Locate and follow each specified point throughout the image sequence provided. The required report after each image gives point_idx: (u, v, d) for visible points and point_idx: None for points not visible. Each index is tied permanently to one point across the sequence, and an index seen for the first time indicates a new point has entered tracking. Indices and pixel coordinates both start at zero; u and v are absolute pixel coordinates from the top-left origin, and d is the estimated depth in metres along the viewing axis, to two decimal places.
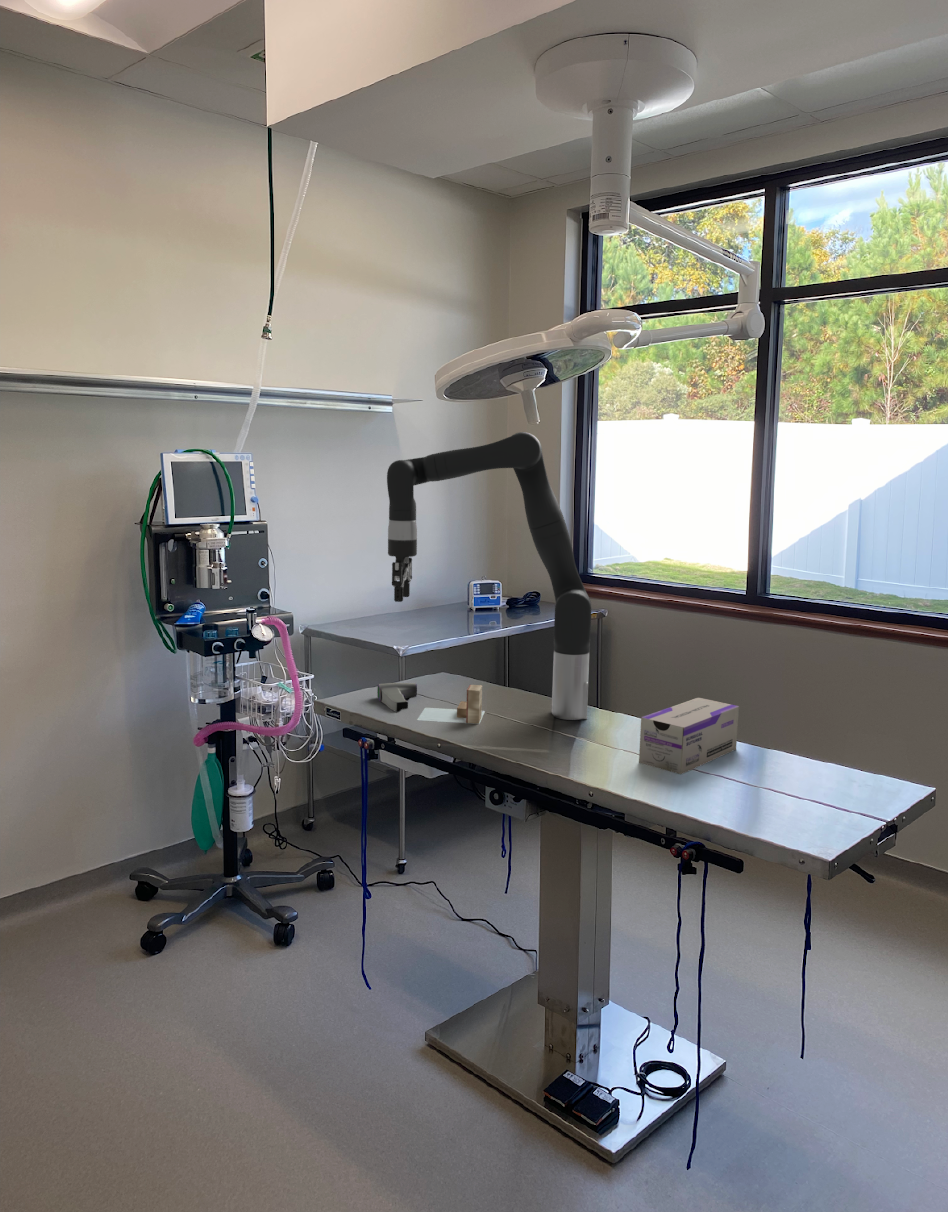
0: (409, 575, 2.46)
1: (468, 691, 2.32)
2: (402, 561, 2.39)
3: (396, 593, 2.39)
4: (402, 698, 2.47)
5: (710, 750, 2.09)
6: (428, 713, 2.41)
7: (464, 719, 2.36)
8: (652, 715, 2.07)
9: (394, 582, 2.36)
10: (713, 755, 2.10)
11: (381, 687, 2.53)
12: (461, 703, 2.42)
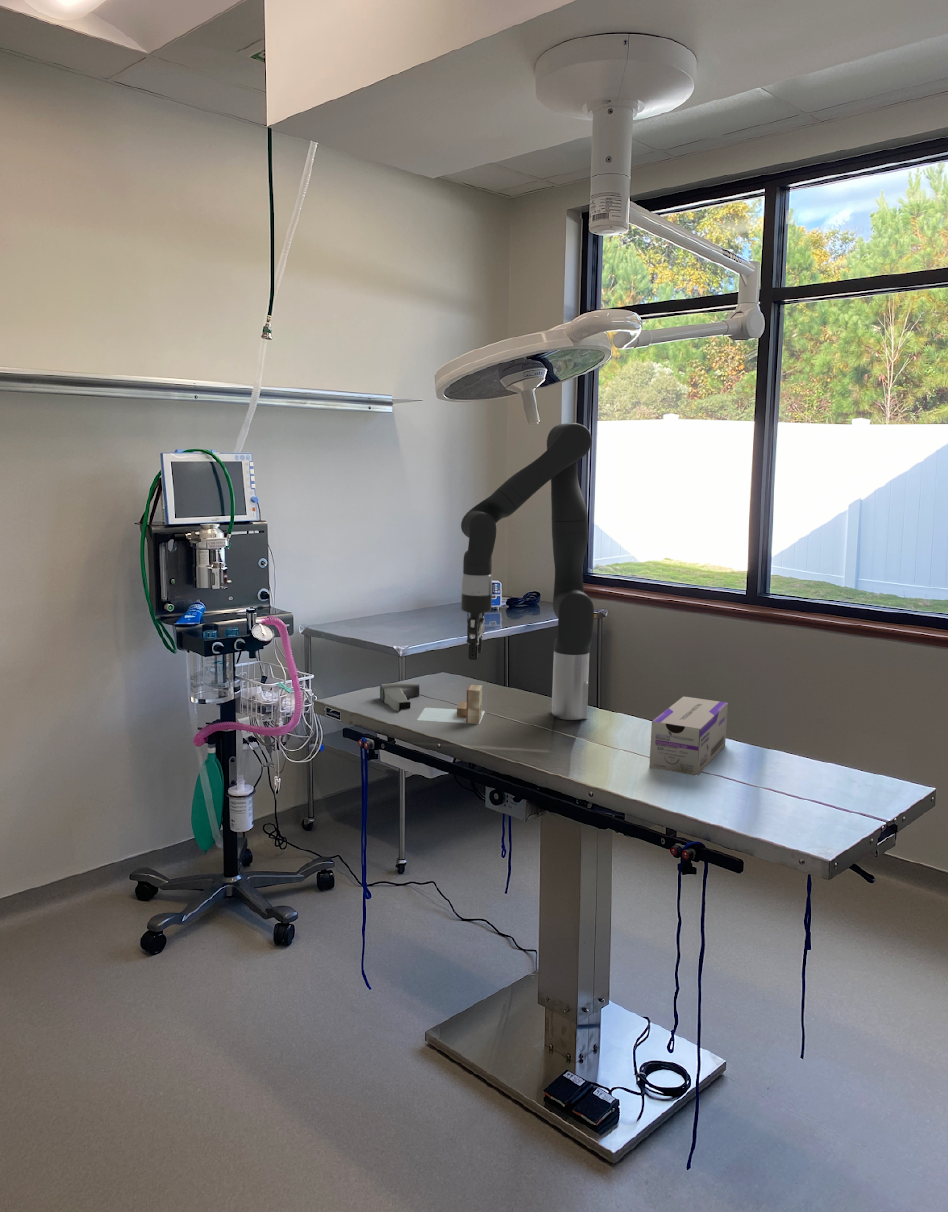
0: (482, 630, 2.34)
1: (468, 691, 2.32)
2: (477, 617, 2.27)
3: (471, 651, 2.27)
4: (404, 698, 2.47)
5: (712, 748, 2.10)
6: (428, 713, 2.41)
7: (464, 719, 2.36)
8: (660, 718, 2.05)
9: (469, 640, 2.25)
10: (714, 754, 2.12)
11: (383, 687, 2.53)
12: (461, 703, 2.42)
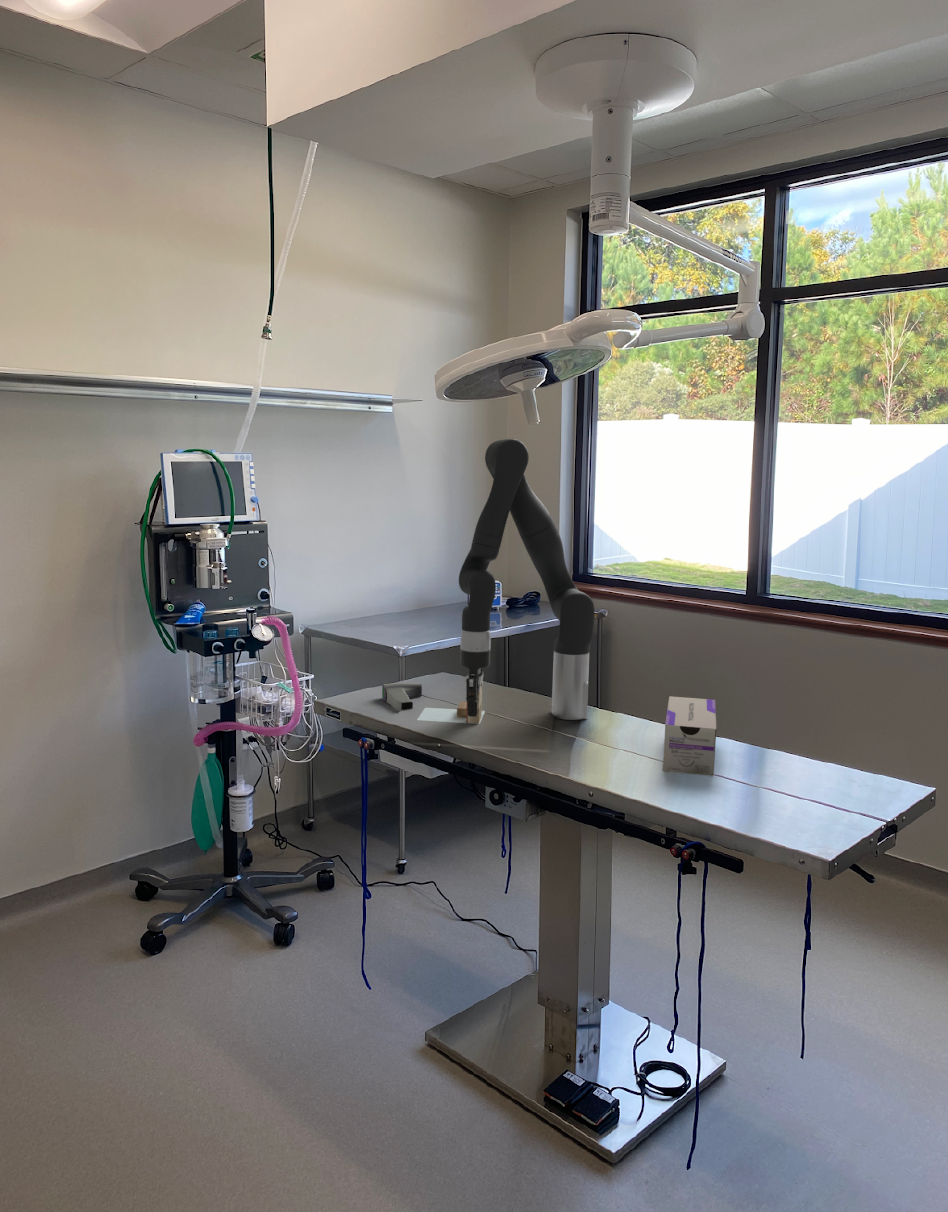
0: (480, 686, 2.36)
1: None
2: (476, 674, 2.29)
3: (470, 708, 2.31)
4: (407, 698, 2.47)
5: None
6: (428, 713, 2.41)
7: (464, 719, 2.36)
8: (670, 721, 2.03)
9: (469, 698, 2.29)
10: None
11: (386, 687, 2.53)
12: (461, 703, 2.42)
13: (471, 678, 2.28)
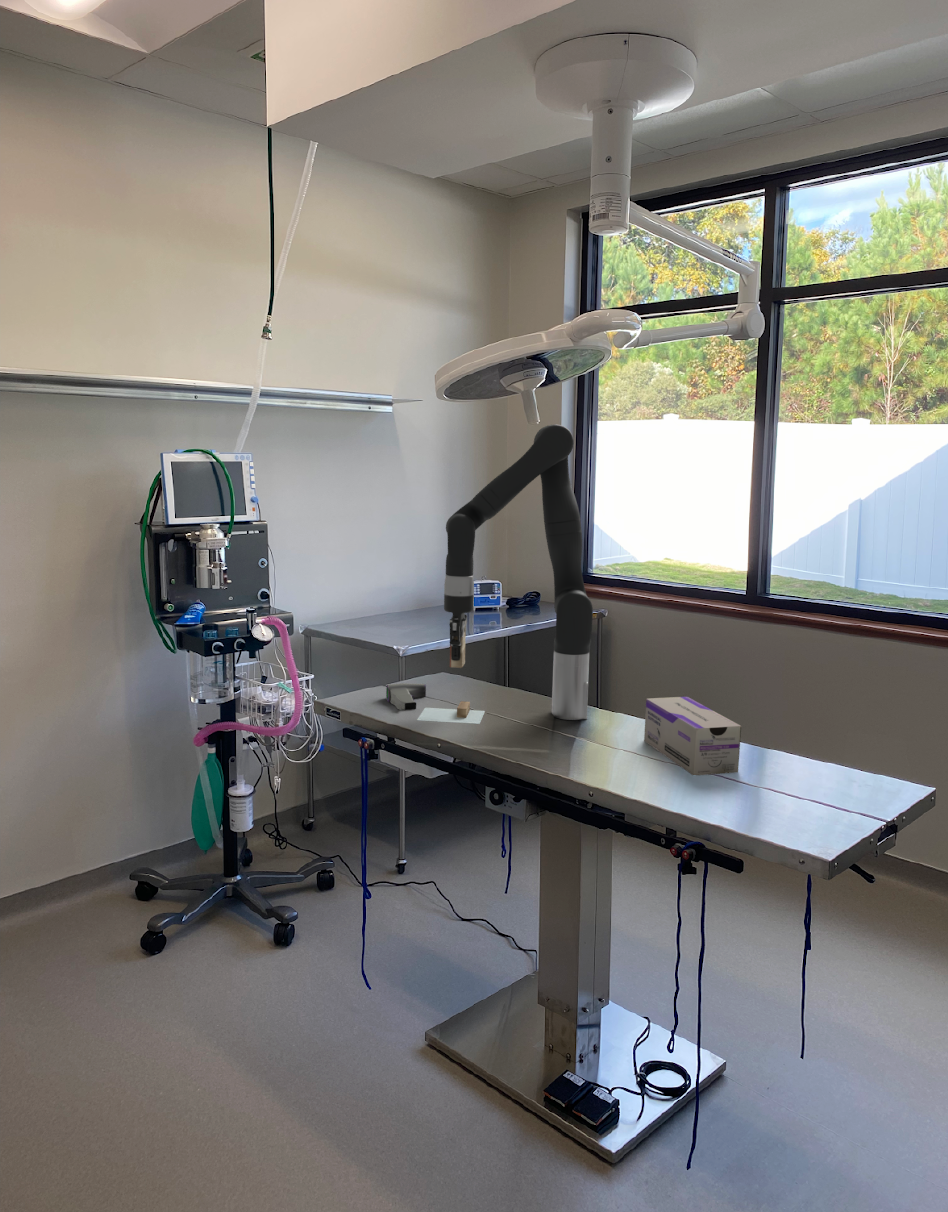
0: None
1: None
2: (459, 618, 2.33)
3: (454, 652, 2.34)
4: (410, 699, 2.47)
5: None
6: (428, 713, 2.41)
7: (464, 719, 2.36)
8: (693, 724, 2.01)
9: (452, 642, 2.32)
10: None
11: (390, 688, 2.53)
12: (461, 703, 2.42)
13: (454, 622, 2.31)
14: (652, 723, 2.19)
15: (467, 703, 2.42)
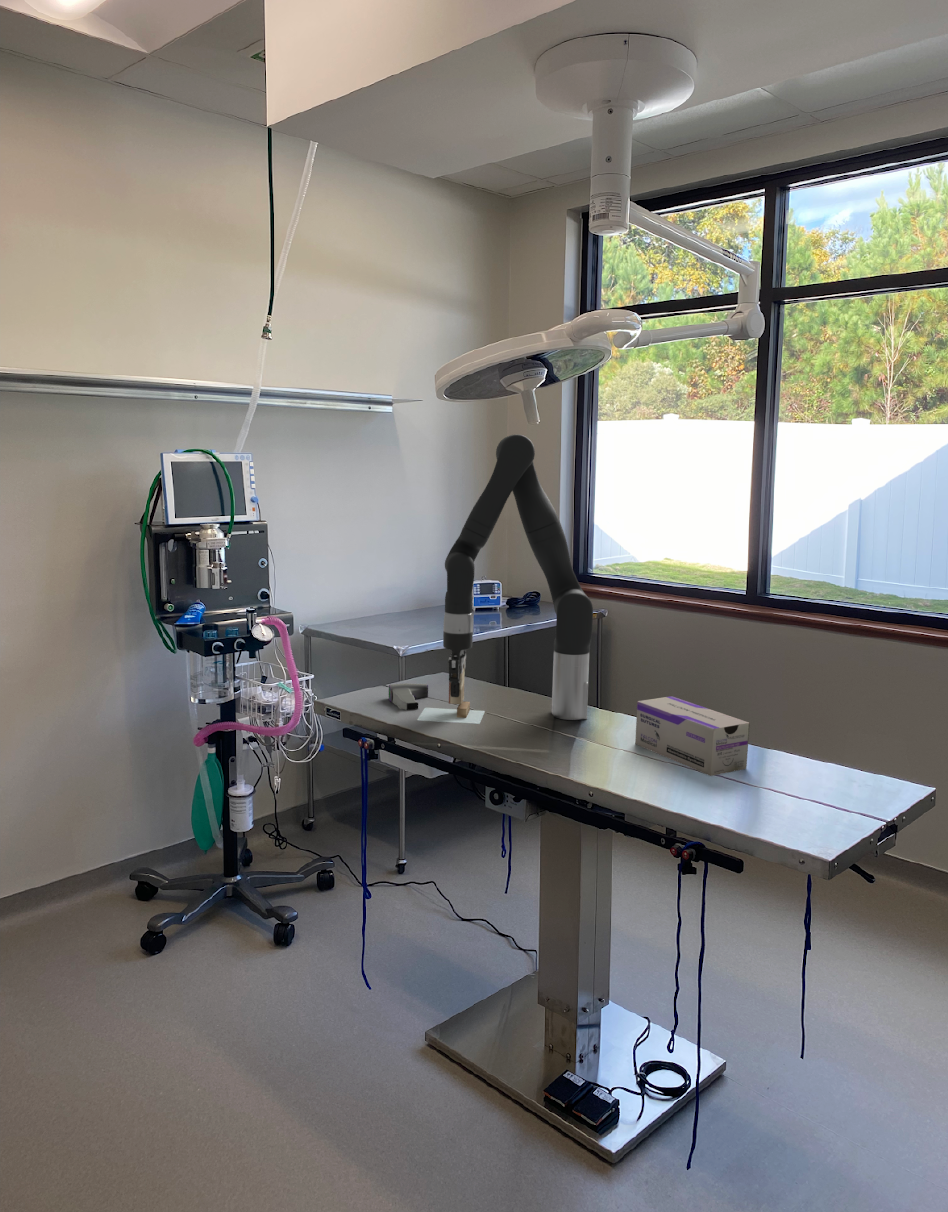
0: None
1: None
2: (458, 655, 2.35)
3: (453, 689, 2.36)
4: (412, 699, 2.46)
5: None
6: (428, 713, 2.41)
7: (464, 719, 2.36)
8: (706, 724, 2.01)
9: (451, 679, 2.34)
10: None
11: (392, 688, 2.53)
12: (461, 703, 2.42)
13: (453, 659, 2.33)
14: (647, 725, 2.16)
15: (467, 703, 2.42)
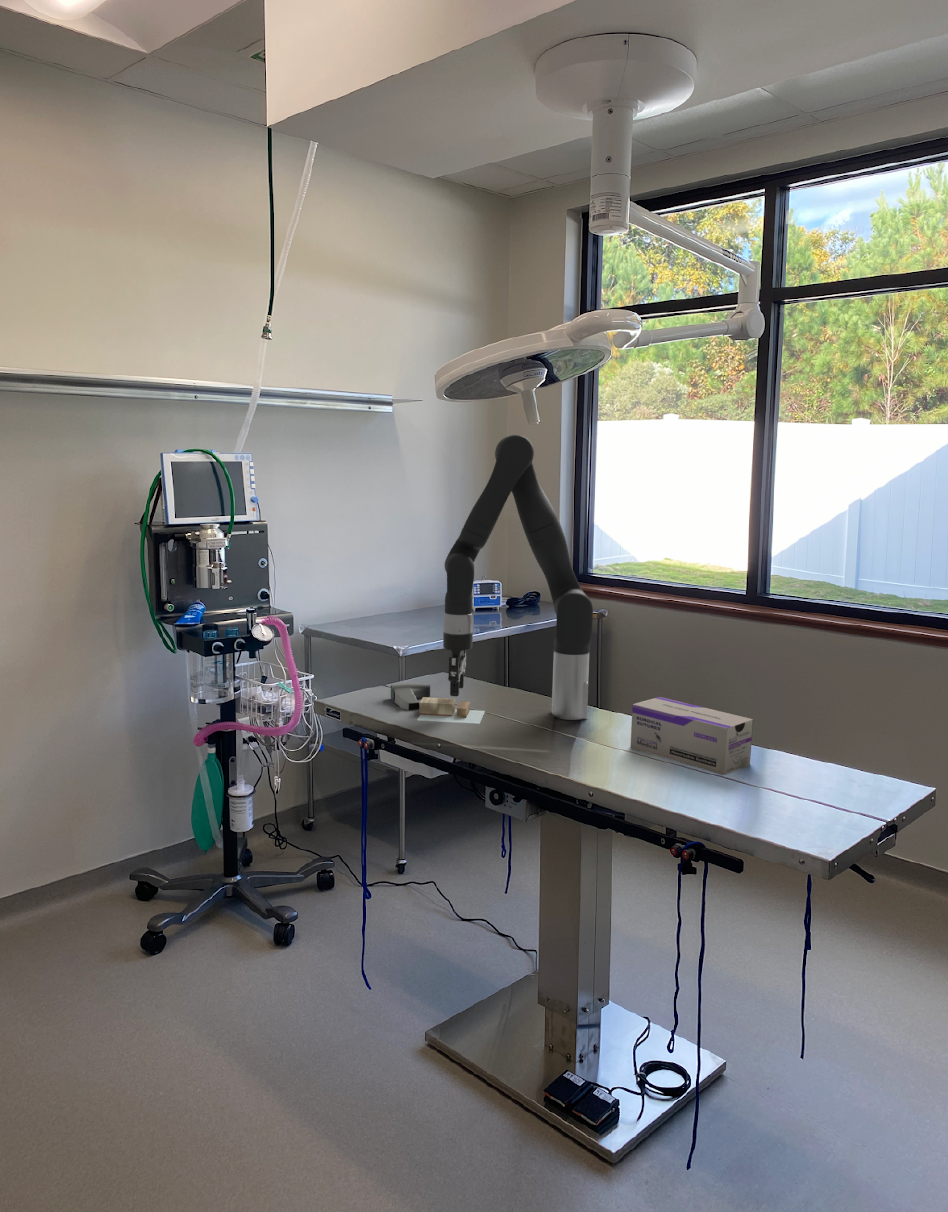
0: (464, 667, 2.42)
1: (420, 713, 2.39)
2: (458, 655, 2.35)
3: (452, 688, 2.35)
4: (414, 699, 2.46)
5: None
6: None
7: (464, 719, 2.36)
8: (716, 724, 2.01)
9: (451, 677, 2.32)
10: None
11: (394, 688, 2.53)
12: (461, 703, 2.42)
13: (454, 657, 2.33)
14: (646, 728, 2.14)
15: (467, 703, 2.42)
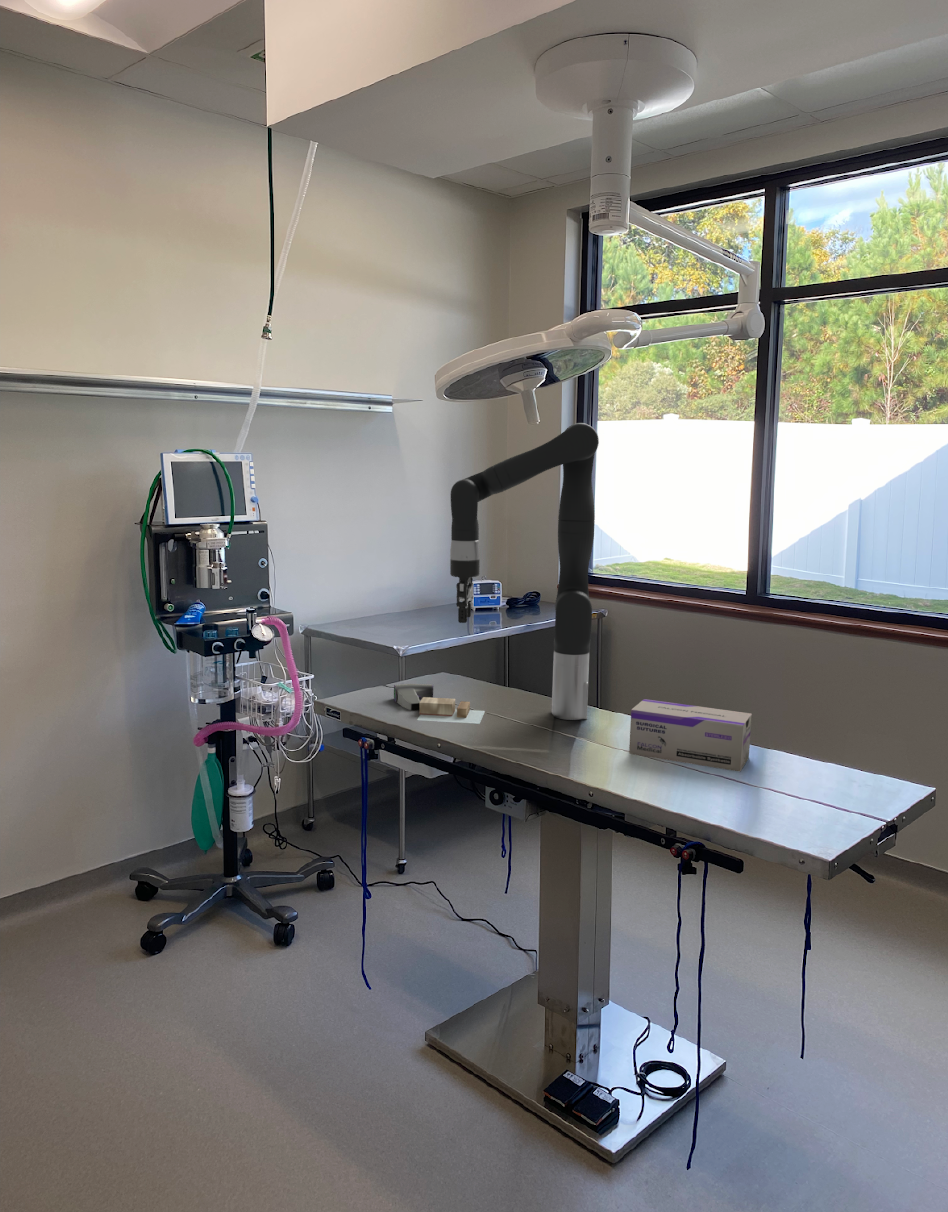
0: (471, 595, 2.43)
1: (420, 713, 2.39)
2: (466, 582, 2.36)
3: (460, 614, 2.36)
4: (417, 699, 2.46)
5: None
6: None
7: (464, 719, 2.36)
8: (729, 722, 2.03)
9: (459, 603, 2.33)
10: None
11: (397, 688, 2.53)
12: (461, 703, 2.42)
13: None
14: (647, 733, 2.11)
15: (467, 703, 2.42)
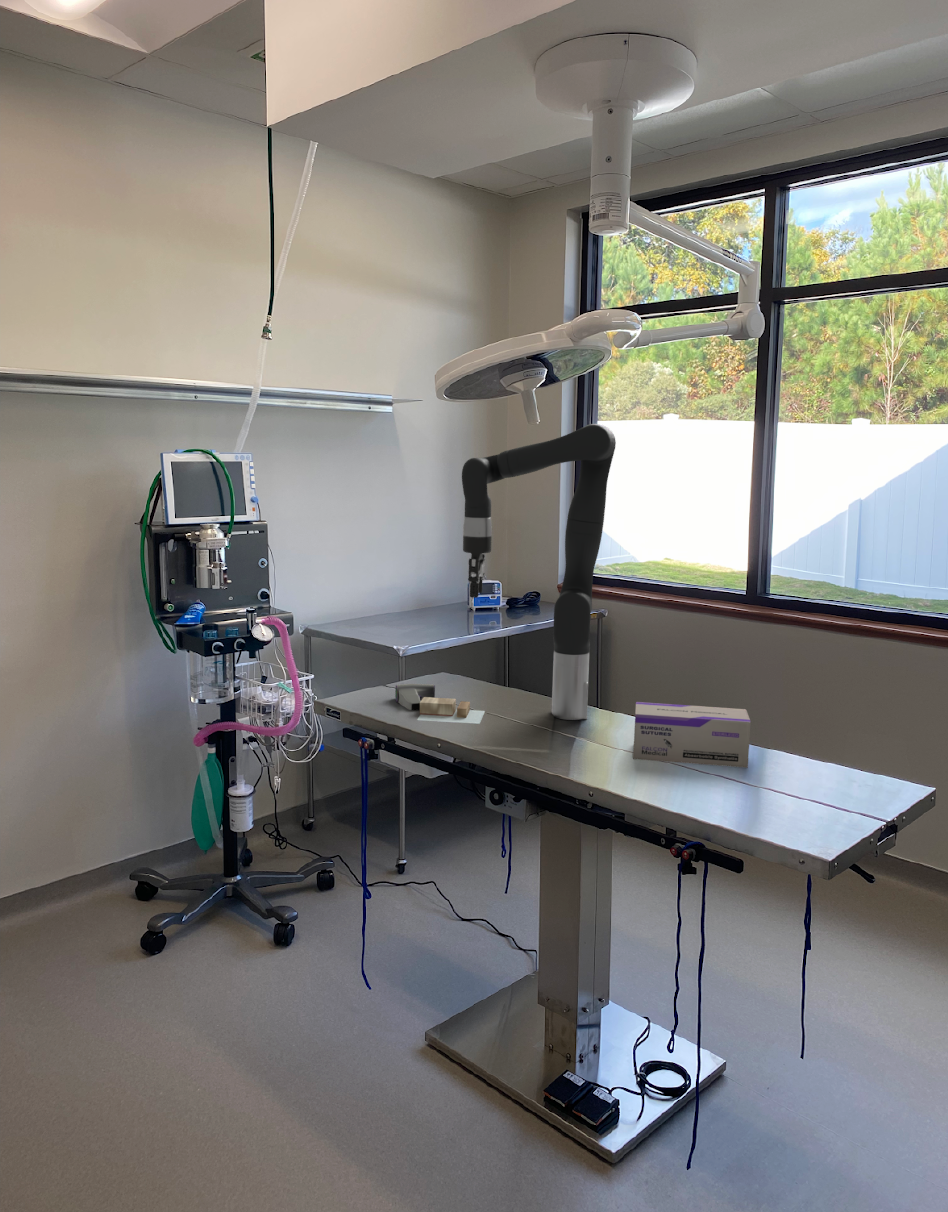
0: (483, 571, 2.49)
1: (420, 713, 2.39)
2: (478, 557, 2.42)
3: (472, 589, 2.42)
4: (418, 699, 2.46)
5: None
6: None
7: (464, 719, 2.36)
8: (735, 719, 2.05)
9: (471, 578, 2.40)
10: None
11: (398, 688, 2.53)
12: (461, 703, 2.42)
13: (473, 559, 2.40)
14: (652, 736, 2.08)
15: (467, 703, 2.42)
